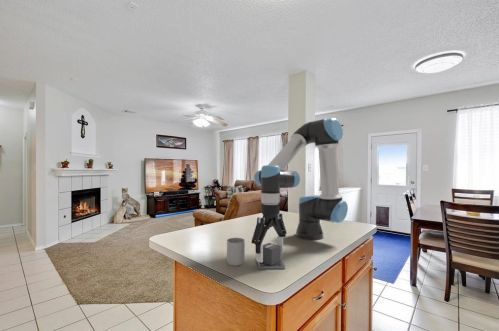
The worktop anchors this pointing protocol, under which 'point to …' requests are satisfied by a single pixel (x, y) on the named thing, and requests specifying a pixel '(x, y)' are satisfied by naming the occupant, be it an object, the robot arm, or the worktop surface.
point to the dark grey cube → (271, 253)
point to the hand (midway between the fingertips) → (270, 256)
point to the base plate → (275, 266)
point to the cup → (235, 251)
